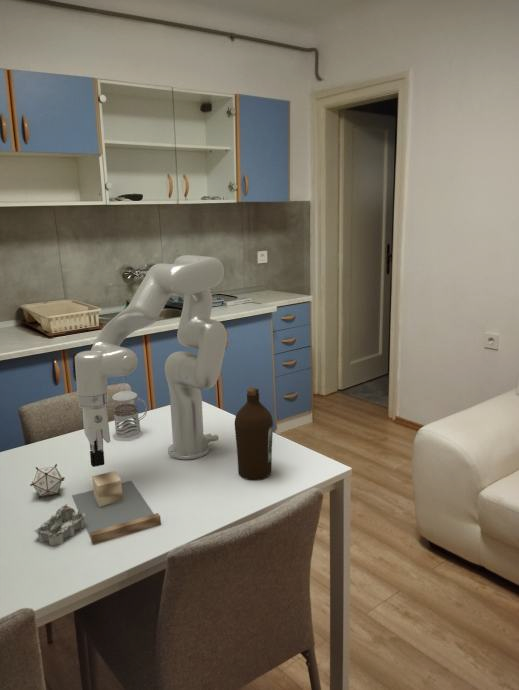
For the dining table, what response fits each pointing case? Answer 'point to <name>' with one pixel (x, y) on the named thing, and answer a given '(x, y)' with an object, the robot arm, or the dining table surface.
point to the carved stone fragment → (53, 526)
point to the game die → (47, 481)
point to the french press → (127, 417)
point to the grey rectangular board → (112, 508)
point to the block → (107, 489)
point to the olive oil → (254, 438)
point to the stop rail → (125, 528)
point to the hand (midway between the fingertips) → (97, 464)
